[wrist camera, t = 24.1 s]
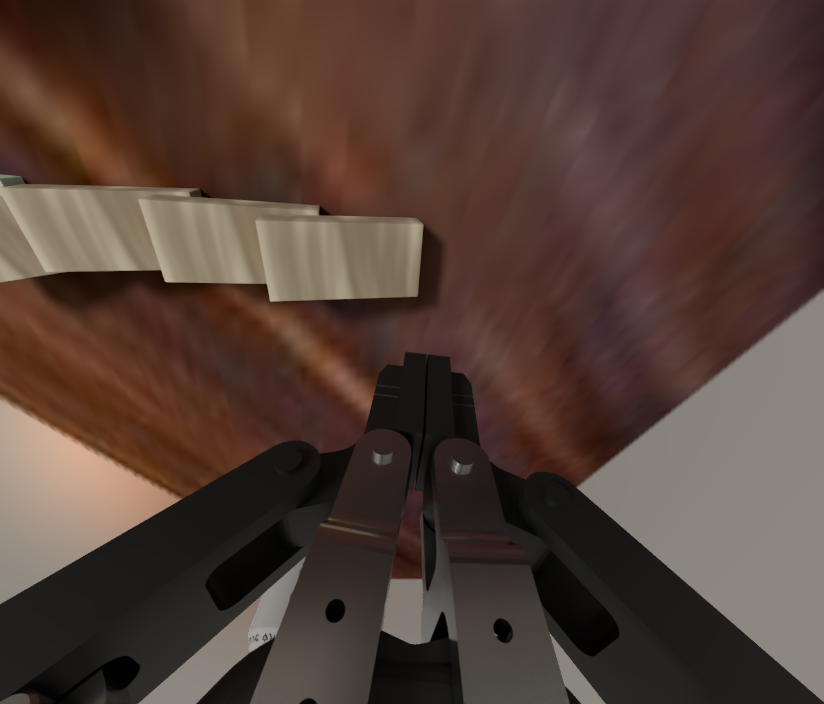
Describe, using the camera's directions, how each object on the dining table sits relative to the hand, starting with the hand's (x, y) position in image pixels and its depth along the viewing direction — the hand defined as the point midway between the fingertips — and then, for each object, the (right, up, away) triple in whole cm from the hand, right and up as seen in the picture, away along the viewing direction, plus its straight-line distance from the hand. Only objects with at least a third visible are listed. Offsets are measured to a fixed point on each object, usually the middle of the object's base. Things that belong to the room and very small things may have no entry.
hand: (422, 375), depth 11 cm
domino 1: (0, +7, +12) cm, 14 cm away
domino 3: (-15, +9, +12) cm, 21 cm away
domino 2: (-7, +8, +12) cm, 16 cm away
